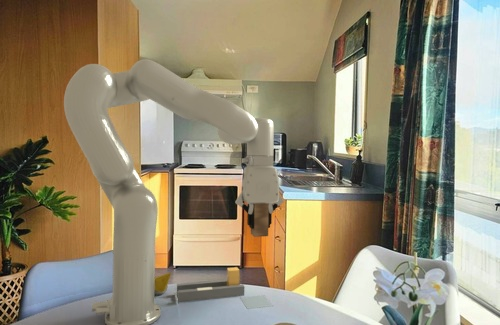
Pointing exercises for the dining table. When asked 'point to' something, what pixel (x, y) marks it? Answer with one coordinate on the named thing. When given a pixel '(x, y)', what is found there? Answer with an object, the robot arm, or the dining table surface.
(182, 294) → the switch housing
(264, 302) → the mat
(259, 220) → the wooden block
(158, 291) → the yellow-filled grey round bowl
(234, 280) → the switch tab
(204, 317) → the dining table surface
